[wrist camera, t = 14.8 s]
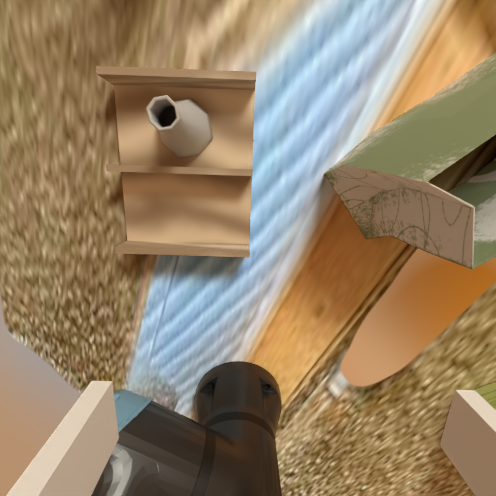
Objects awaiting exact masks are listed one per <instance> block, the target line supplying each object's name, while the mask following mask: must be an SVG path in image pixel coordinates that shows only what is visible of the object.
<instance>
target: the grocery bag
mask: <svg viewBox="0 0 496 496" xmlns="http://www.w3.org/2000/svg"><path fill="white" fill-rule="evenodd" d="M494 135H496V53H495V54H493V55H492V56H490V57H489V58H488V59H486V60H485V61H483V62H482V63H480V64H479V65H477V66H476V67H474V68H473V69H471V70H470V71H468V72H467V73H465V74H464V75H462V76H461V77H459V78H458V79H457V80H455V81H454V82H452V83H451V84H449V85H448V86H446V87H445V88H443V89H442V90H440V91H439V92H437V93H436V94H434V95H433V96H431V97H429V98H428V99H426V100H425V101H423V102H421V103H420V104H418V105H416V106H415V107H413V108H412V109H410V110H408V111H407V112H405V113H403V114H402V115H400V116H399V117H397V118H395V119H394V120H392V121H390V122H389V123H387V124H386V125H384V126H382V127H381V128H379V129H377V130H376V131H374V132H373V133H371V134H370V135H369V136H368V137H367V138H365V139H364V140H363V141H362V142H361V143H360V144H358V145H357V146H356V147H355V148H354V149H353V150H351V151H350V152H349V153H348V154H347V155H346V156H344V157H343V158H342V159H341V160H340V161H339V162H337V163H336V164H335V165H334V166H333V167H332V168H330V169H329V170H328V171H327V172H326V173H325V175H326V177H327V178H328V180H329V181H330V183H331V185H332V186H333V188H334V189H335V191H336V192H337V194H338V195H339V197H340V199H341V200H342V202H343V203H344V205H345V206H346V208H347V210H348V211H349V213H350V214H351V216H352V217H353V219H354V220H355V222H356V224H357V225H358V227H359V228H360V230H361V231H362V233H363V234H364V236H365V238H366V239H369V238H377V237H385V236H392V237H394V238H396V239H399V240H401V241H403V242H406V243H408V244H410V245H412V246H415V247H417V248H419V249H421V250H424V251H426V252H428V253H431V254H434V255H436V256H438V257H441V258H444V259H446V260H449V261H452V262H454V263H457V264H459V265H462V266H464V267H467V268H470V269H474V268H476V267H478V266H480V265H481V264H483V263H485V262H487V261H489V260H491V259H492V258H494V257H496V152H495V153H494V154H493V156H492V157H491V158H490V160H489V161H488V162H487V163H486V165H485V166H484V167H483V168H482V170H481V171H479V172H478V173H477V174H476V175H474V176H473V177H472V178H471V179H470V180H468V181H467V182H465V183H463V184H461V185H459V186H457V187H455V188H453V189H451V190H450V191H448V192H446V191H444V190H442V189H440V188H439V187H437V186H435V185H433V184H431V183H429V182H428V181H429V180H431V179H432V178H434V177H435V176H436V175H438V174H439V173H441V172H442V171H444V170H445V169H447V168H448V167H449V166H451V165H452V164H454V163H455V162H457V161H458V160H460V159H461V158H462V157H464V156H465V155H467V154H468V153H470V152H471V151H473V150H474V149H476V148H477V147H478V146H480V145H481V144H483V143H484V142H486V141H487V140H489V139H490V138H491V137H493V136H494Z"/></svg>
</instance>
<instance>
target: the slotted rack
mask: <svg viewBox="0 0 496 496" xmlns="http://www.w3.org/2000/svg"><path fill="white" fill-rule="evenodd" d="M96 70H97V74H98V75H99V76H101V77H102V78H104V79H105V80H107V81H108V82H110V83H111V84H113V85H114V95H115V106H116V118H117V129H118V140H119V152H120V163H121V165H108V164H106V168H107V171H116V172H121V174H122V186H123V197H124V208H125V220H126V231H127V241H125V242H124V243H122V244H120V245H118V246H116V247H115V253H121V254H154V255H187V256H220V257H249V254H250V249H249V240H250V211H251V183H252V170H253V169H252V154H253V126H254V97H255V82H256V72H242V71H216V70H190V69H164V68H138V67H112V66H96ZM164 95H168V96H169V97H170V98H171V99H172V100H173V101H179V100H184V99H189V98H192V99H193V100H194V101H195V102H196V103H197V104H198V105H199V106H200V107H201V108H202V109H203V110H204V111H205V112H206V113H207V114H208V115H209V119H210V124H211V129H212V135H213V139H212V140H211V141H210V142H209V144H208V145H207V146H206V147H205V148H204V149H203V151H202V152H201V153H200V154H199V155H194V156H189V157H183V158H178V157H176V156H175V155H174V154H173V153H172V152H171V151H170V150H169V149H168V148H167V147H166V146H165V145H164V144H163V143H162V142H161V137H160V133H159V131H158V130H157V129H156V128H155V127H154V126H153V125H152V124H151V123H150V122H149V118H148V114H147V110H146V107H147V106H148V105H149V103H150V102H151V101H152V99H153V98H154V97H159V96H164Z"/></svg>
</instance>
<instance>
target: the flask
mask: <svg viewBox="0 0 496 496" xmlns="http://www.w3.org/2000/svg"><path fill="white" fill-rule="evenodd" d="M146 110H147V114H148V118H149V122H150V123H151V124H152V125H153V126H154V127H155V128H156V129H157V130H158V131H159V133H160V137H161V142H162V143H163V144H164V145H165V146H166V147H167V148H168V149H169V150H170V151H171V152H172V153H173V154H174V155H175V156H176V157H178V158H183V157H189V156H194V155H199V154H200V153H201V152H202V151H203V149H204V148H205V147H206V146H207V145H208V144H209V142H210V141H211V140H212V139H213V135H212V129H211V124H210V119H209V115H208V114H207V113H206V112H205V111H204V110H203V109H202V108H201V107H200V106H199V105H198V104H197V103H196V102H195V101H194V100H193V99H192V98H189V99H184V100H179V101H173V100H172V99H171V98H170V97H169V96H168V95H164V96H159V97H154V98H153V99H152V101H151V102H150V103H149V105H148V106H147V107H146Z"/></svg>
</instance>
